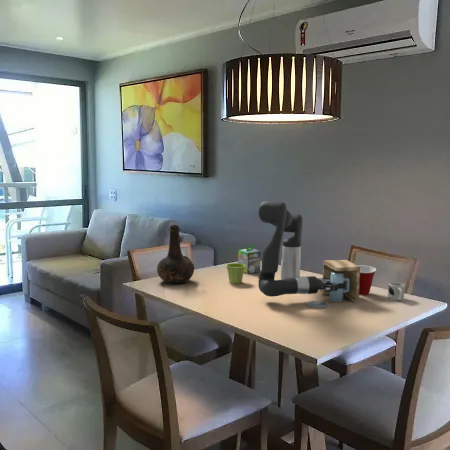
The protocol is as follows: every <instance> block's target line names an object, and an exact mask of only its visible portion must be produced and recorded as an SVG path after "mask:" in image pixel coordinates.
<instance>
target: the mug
mask: <svg viewBox="0 0 450 450" xmlns="http://www.w3.org/2000/svg"><path fill="white" fill-rule="evenodd" d="M405 287H406V285H405V284H404V283H403V282H398V281H396V282H394V281H393V282H389V283H388V293H387V299H388V300H390V301H394V302H402V301H404V300H405V289H406V288H405Z"/></svg>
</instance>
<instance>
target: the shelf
mask: <svg viewBox="0 0 450 450" xmlns="http://www.w3.org/2000/svg"><path fill="white" fill-rule="evenodd" d="M322 262H323V264H322V278H328V279H331V272H334V271H338V272H343V273H344V278H349V279H350V283H349V291H348V292H343V296H344V295H345V296H346V297H348V298H349V299H350V300H352V301H353V302H355V303H359V296H360V295H359V281H360V267H359V265H357V264H355V263H353V262H351V261H349V260H347V259H332V260H331V259H330V260H329V259H328V260H327V259H326V260H323V261H322ZM344 283H345V284H346V281H344ZM345 289H346V288H345ZM321 291H322V292H321V294H322V295H330V291H329V292H326V291H325V290H321Z"/></svg>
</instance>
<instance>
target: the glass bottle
mask: <svg viewBox="0 0 450 450" xmlns="http://www.w3.org/2000/svg"><path fill="white" fill-rule="evenodd" d="M168 231H169V244H168V253H167V255H166V257H164V258H162V259H161V260H159V262H158V264H157V266H156V273H157V274H158V277H159V278H160V279H161V280H162V281H163V282H165V283H167V284H172V285H173V284H175V285H177V284H184V283H186V282H188V281H189V280H190V279H191V278H192V277H193V275H194V273H195V267H194V264H193V262H192V260H191V259H190V258H189V257H188V256H186V255H183V253H182V248H181V242H180V231H181V228H180V226H179V225H178V224H170V225H169V228H168Z"/></svg>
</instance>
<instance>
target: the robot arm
mask: <svg viewBox="0 0 450 450" xmlns="http://www.w3.org/2000/svg"><path fill="white" fill-rule="evenodd" d="M258 217H259V219H260V222H262V223H264V224H265V223H266V224H270V225H272V226H274V227H275V231H274V234H272V237H271V238H270V240H269V241H268V242H267V244H266V245H265V247H264V249H263V251H262V253H261V255H262V256H261V267H260V272H259V276H258V282H257V283H258V290H259V291H260V292H261V293H263V295H265V296H266V297H271V298H273V297H278V296H284V295H315V294H318V292H319V291H320V290H321V291H322V290H325V291H326V292H329V291H338V289H345V288H346V284H345V283H332V282H330V280H331V279H328V278H323V277H317V276H313V275H311V276H309V275H306V276H301V253H302V252H301V251H302V250H301V249H302V233H303V232H302V231H303V217H302V215H301V214H298V213H297V214H296V213H291V211H289V210H288V209H287V205H286V203H285V202H283V201H276V200H275V201H274V200H273V201H272V200H264V201H262V202H261V203H260V205H259V208H258ZM284 233H292V234H293V233H294V235H293V236H291V237H288V238H284V239H283V236H284ZM282 239H283V240H282ZM281 247H282V249H281ZM280 251H281V260H280ZM279 262H280V263H279ZM279 264H280V279H275V278H276V273H277V272H278V270H279ZM334 286H335V288H333V287H334Z"/></svg>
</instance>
